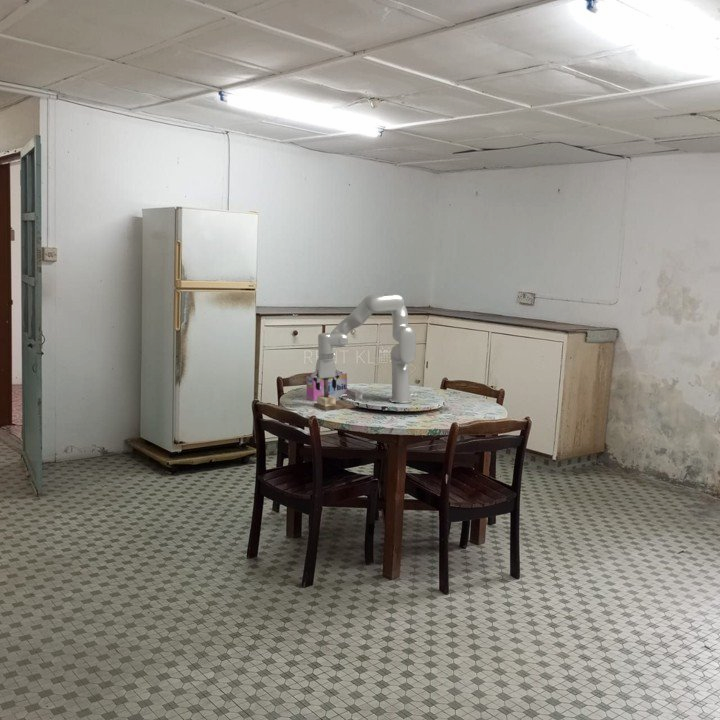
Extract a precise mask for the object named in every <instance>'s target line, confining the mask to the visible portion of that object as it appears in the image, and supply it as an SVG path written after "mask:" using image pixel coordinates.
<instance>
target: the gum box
mask: <svg viewBox="0 0 720 720" xmlns="http://www.w3.org/2000/svg"><path fill="white" fill-rule="evenodd" d="M340 372H341V374H340V376H339V378H338V379H337V381H336V388H333V387H332V380H333V379H332V378H329V379H328V393H329V396H332V397H334V398H336V399H338V398H339V397H340V396H341V395H342V394H347V389H348V376H347V375H348V374H347V373H346V372H345V373H344V372H342V371H340ZM336 375H337V373H336ZM336 375H335V376H336ZM315 378H317V377H316V375H315ZM305 379H306V380H305V381H306V399H307V400H309V401H311V402H317V396H321V395H324V379H320V381H319V383H320V390H317V389H316V382H315V381H314V380H313V379H312V377H311V374H310V375H306V378H305ZM340 398H341V397H340ZM340 398H339V399H340Z"/></svg>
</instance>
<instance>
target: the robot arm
mask: <svg viewBox="0 0 720 720" xmlns="http://www.w3.org/2000/svg"><path fill="white" fill-rule="evenodd" d="M383 312H390V314H391V319H392V320H391V321H392V331H391V332H392V338H393V339H394V340H395V341H396V342H398V344H395V345H394V346H392V348H391V350H390V361H391V398H389V399H388V401H389V400H390V401H394V402H401V403H400V404H410V403H411V402H413V398H415V397H417V396H418V393H416V392H415V393H411V392H410V364H412V363H413V362H414V360H415V359H416V356H417V355H416V352H417V351H416V350H417V344H416V343H417V341H416V340H417V338H416V332H415V329H414V328H413V327H411V326H409V314H408V313H409V312H408V309H407V307H406V305H405V300H404V297H403V296H402V295H401V294H398V293H392V292H387V293H385V294H384V295H375V294H374V295H373V294H368V295H367V296H365V297H364V298H363V299H362V301H361V302H359V304H358V305H357V306H356V308H354V309H353V310H352V312H351V313H350V314H349V315H347V316H346V317H345V318H343V319H342V320H341V321H340V322H339V323H338V324H337V325H336V327H334V329H332V331H330V333H329V332H322V333H318V335H317V344H318V346H317V349H318V350H317V353H318V358H317V359H316V363H315V371H314V372H312V373H311V374H310V375H311V377H312V379H313V380H314V381H315V382H316V389H317V390H320V383H319V381H320V379H323V378H332V379H333V380H332V387H333V388H336V381H337V379H338V378H339V376H340V374H341V372H342V371H339V370H338V369H336V363H335V358H334V357H335V355H336V354H335V353H334V352H333V350H334V349H333V347H335V348H336V347H337V348H343V347H345V346H346V345H347V344H348V343H349V337H348V334H349V333H350V332H351V331H352V330H354V329H356V328H359V327H361V326H363V325H364V324H365V323H366V321H367V320H368V319H369V318H370V317H371V316H372V315H373V314H374V313H383ZM336 373H337V375H336ZM315 375H316V377H317V378H315ZM335 375H336V376H335ZM390 401H389V402H390Z"/></svg>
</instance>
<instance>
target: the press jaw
mask: <svg viewBox="0 0 720 720" xmlns="http://www.w3.org/2000/svg"><path fill="white" fill-rule="evenodd" d="M323 379H324V395H321V396H317V401H316V403H318V404H320V405H323V406H325V407H327V406H335V405H336V401H337V398H334V397H332V396H329V393H328V379H329V378H323Z"/></svg>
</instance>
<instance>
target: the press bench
mask: <svg viewBox="0 0 720 720" xmlns="http://www.w3.org/2000/svg"><path fill="white" fill-rule="evenodd" d="M347 398H349V399H352V400H354V401H362V402H363V391H361V390H358V389H356V388H347V397H346V399H347ZM343 400H344V399H340V400H339V399H338V400H337V399H336V405H335V406H327V407H325V406H323V405H320V404H318V403H317V402H315V403H313V407H315V408H318V409H320V410H323V411H325V412H329V411H336V410H343V409H350V408H357V407H356V406H355V405H354V404H350V403H347V402H345V401H343Z"/></svg>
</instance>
